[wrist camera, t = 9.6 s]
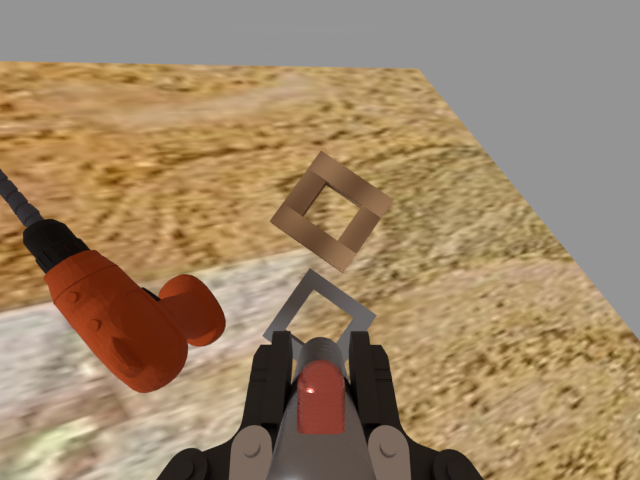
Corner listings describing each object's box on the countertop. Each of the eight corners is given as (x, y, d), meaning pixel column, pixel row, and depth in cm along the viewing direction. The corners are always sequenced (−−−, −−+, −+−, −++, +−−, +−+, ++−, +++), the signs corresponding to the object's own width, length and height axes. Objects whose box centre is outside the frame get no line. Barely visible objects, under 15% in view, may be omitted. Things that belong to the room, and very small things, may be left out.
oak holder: (271, 223, 34) (269, 221, 32) (321, 156, 34) (321, 150, 33) (342, 273, 33) (343, 272, 31) (390, 203, 34) (393, 199, 32)
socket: (264, 333, 32) (262, 336, 31) (310, 268, 33) (309, 267, 32) (329, 380, 32) (329, 385, 30) (374, 313, 33) (376, 315, 31)
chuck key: (342, 398, 19) (382, 613, 7) (298, 398, 19) (260, 613, 7) (342, 311, 19) (377, 369, 7) (299, 311, 19) (264, 369, 7)
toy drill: (120, 180, 33) (-26, 126, 18) (238, 321, 33) (193, 385, 18) (81, 209, 32) (-103, 181, 17) (200, 351, 33) (124, 441, 18)
